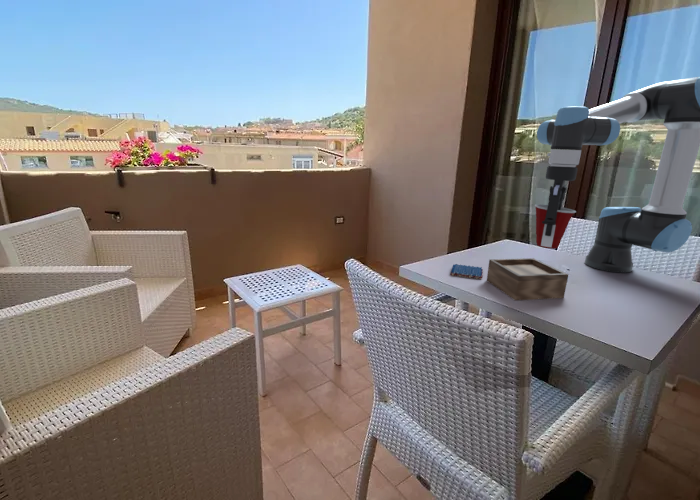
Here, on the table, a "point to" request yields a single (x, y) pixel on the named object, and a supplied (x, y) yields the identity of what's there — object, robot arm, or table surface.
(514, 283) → the open wooden box
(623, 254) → the robot arm
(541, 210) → the plastic cup
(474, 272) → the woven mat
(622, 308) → the table surface
